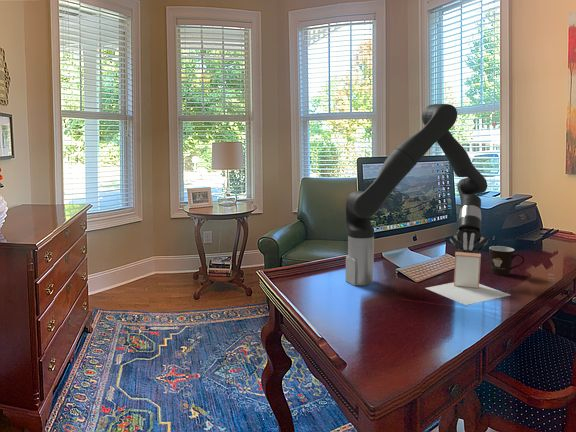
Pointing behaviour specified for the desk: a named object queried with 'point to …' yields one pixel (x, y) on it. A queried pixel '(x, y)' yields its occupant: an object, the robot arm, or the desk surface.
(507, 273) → the coffee mug
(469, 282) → the beige rectangular box
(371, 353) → the desk surface
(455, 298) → the mat
